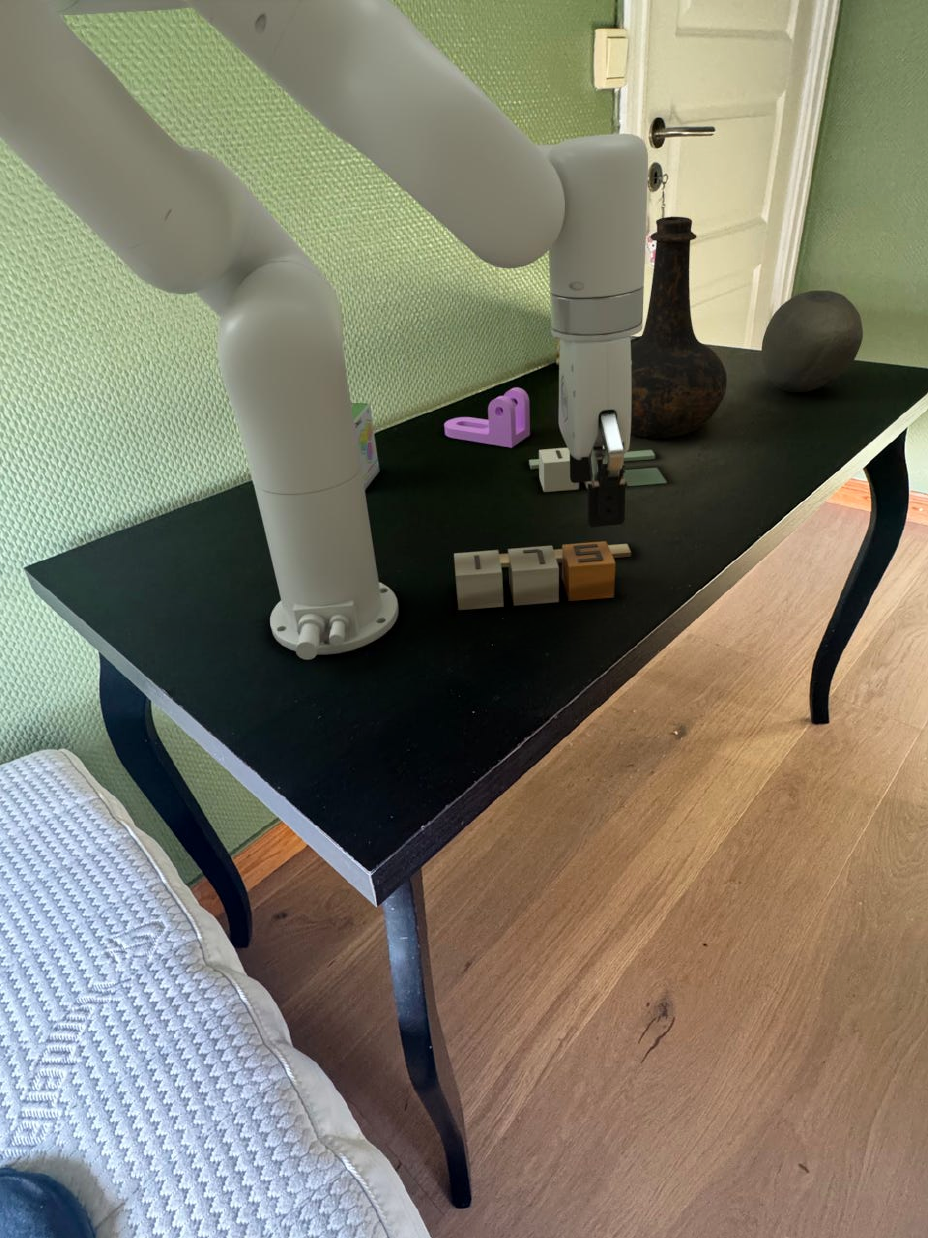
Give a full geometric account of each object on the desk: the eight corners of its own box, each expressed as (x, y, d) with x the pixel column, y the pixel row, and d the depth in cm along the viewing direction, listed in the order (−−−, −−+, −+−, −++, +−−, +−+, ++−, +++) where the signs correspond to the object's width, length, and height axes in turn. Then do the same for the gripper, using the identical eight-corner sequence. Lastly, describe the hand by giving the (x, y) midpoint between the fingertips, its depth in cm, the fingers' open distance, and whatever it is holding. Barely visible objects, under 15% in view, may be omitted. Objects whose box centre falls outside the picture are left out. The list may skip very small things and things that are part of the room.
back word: (670, 482, 97) (673, 452, 95) (538, 493, 97) (537, 463, 95) (651, 453, 105) (653, 424, 103) (529, 463, 105) (528, 435, 103)
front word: (648, 594, 76) (651, 558, 73) (458, 610, 76) (455, 574, 73) (626, 548, 84) (628, 514, 82) (455, 562, 84) (452, 529, 82)
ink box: (365, 492, 101) (350, 392, 94) (337, 492, 102) (319, 392, 94) (380, 471, 107) (367, 375, 99) (353, 471, 107) (338, 375, 100)
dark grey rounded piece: (751, 402, 120) (766, 301, 111) (759, 376, 130) (773, 282, 122) (850, 408, 115) (873, 303, 106) (849, 380, 125) (870, 282, 117)
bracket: (529, 434, 115) (529, 388, 111) (511, 447, 111) (510, 400, 107) (457, 423, 121) (454, 379, 117) (437, 435, 117) (434, 390, 113)
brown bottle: (679, 401, 123) (696, 204, 107) (747, 436, 108) (778, 215, 93) (577, 420, 119) (581, 218, 103) (634, 459, 104) (648, 232, 89)
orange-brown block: (613, 597, 76) (615, 561, 73) (568, 601, 76) (569, 565, 73) (604, 574, 79) (606, 540, 77) (561, 578, 79) (562, 543, 77)
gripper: (537, 295, 70) (544, 469, 80) (567, 343, 56) (571, 548, 65) (619, 287, 70) (615, 462, 79) (670, 332, 56) (658, 539, 65)
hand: (595, 501), depth 72 cm, fingers open, 9 cm apart
